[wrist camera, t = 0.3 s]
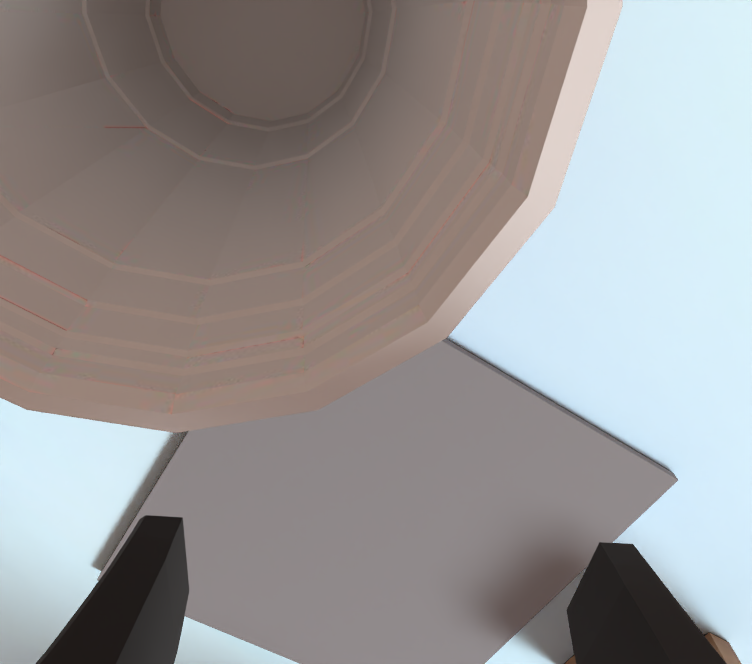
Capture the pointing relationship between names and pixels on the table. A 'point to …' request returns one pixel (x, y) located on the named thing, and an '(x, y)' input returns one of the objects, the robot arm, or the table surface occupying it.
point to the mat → (398, 515)
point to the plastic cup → (267, 190)
